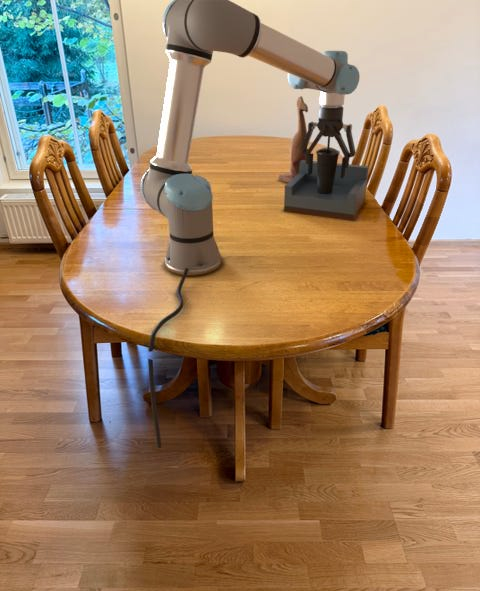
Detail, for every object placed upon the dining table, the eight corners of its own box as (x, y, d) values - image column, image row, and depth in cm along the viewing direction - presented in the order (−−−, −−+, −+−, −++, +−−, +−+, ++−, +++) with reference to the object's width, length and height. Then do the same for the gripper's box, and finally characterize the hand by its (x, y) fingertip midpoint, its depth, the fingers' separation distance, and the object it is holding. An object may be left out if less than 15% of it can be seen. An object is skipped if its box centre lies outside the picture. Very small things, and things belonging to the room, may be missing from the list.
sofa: (353, 220, 160) (357, 181, 153) (283, 211, 168) (285, 173, 162) (364, 202, 175) (368, 166, 168) (300, 194, 183) (302, 159, 177)
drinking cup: (336, 188, 170) (341, 129, 160) (335, 196, 163) (341, 134, 153) (314, 187, 171) (318, 128, 161) (312, 194, 164) (316, 133, 154)
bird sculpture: (297, 187, 191) (302, 100, 175) (277, 180, 199) (279, 96, 182) (317, 181, 197) (323, 96, 181) (296, 175, 205) (300, 93, 188)
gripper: (370, 105, 152) (362, 176, 163) (299, 102, 160) (296, 169, 171) (366, 109, 146) (358, 182, 157) (292, 105, 154) (290, 174, 165)
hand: (326, 175), depth 164 cm, fingers open, 10 cm apart
